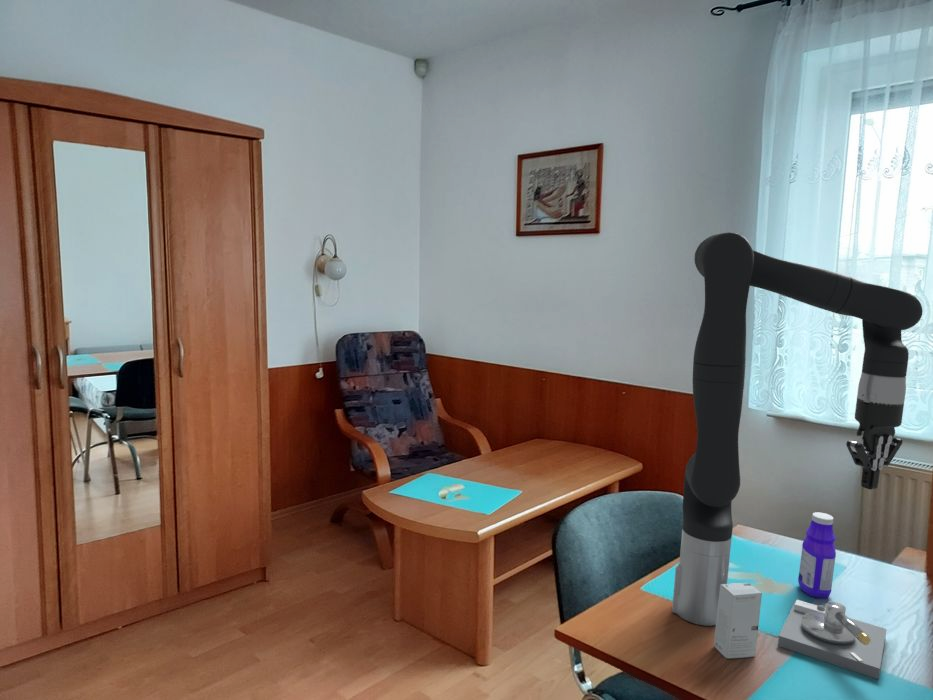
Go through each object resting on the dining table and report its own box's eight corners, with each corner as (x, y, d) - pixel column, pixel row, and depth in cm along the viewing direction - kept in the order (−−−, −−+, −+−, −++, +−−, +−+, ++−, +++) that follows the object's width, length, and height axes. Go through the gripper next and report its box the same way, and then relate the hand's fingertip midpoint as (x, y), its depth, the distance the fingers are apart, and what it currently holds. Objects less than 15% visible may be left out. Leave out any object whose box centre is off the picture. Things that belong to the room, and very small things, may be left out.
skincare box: (726, 660, 119) (733, 595, 117) (712, 645, 123) (718, 583, 122) (757, 656, 121) (764, 593, 119) (741, 642, 125) (748, 581, 123)
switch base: (777, 645, 124) (780, 625, 124) (793, 610, 137) (795, 592, 137) (878, 679, 115) (881, 657, 115) (885, 638, 128) (887, 619, 128)
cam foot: (792, 617, 130) (795, 589, 129) (838, 618, 130) (841, 590, 130) (838, 667, 114) (842, 635, 114) (890, 668, 114) (894, 637, 114)
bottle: (835, 600, 142) (845, 522, 140) (809, 599, 142) (818, 521, 140) (818, 584, 149) (827, 509, 147) (792, 583, 149) (801, 508, 147)
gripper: (884, 392, 131) (873, 478, 133) (837, 395, 125) (827, 485, 128) (923, 400, 124) (911, 491, 126) (875, 404, 119) (863, 498, 121)
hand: (868, 487), depth 127 cm, fingers closed
